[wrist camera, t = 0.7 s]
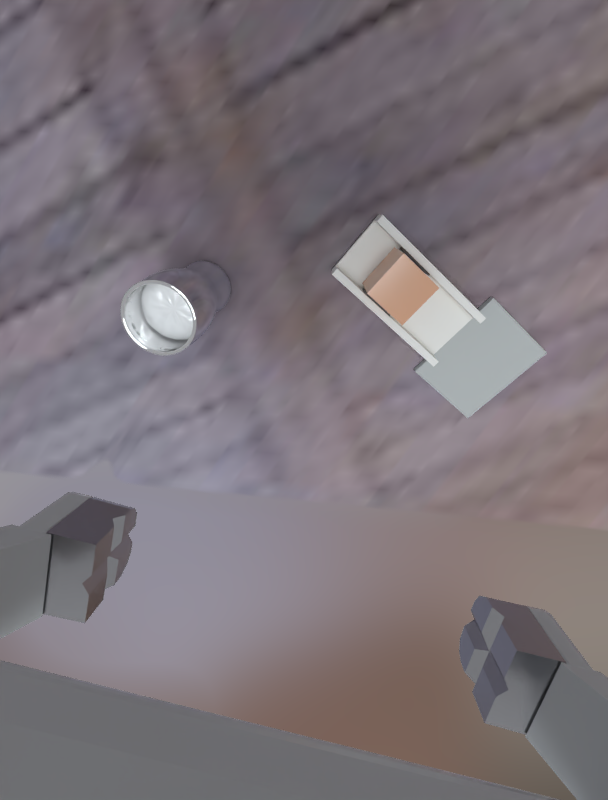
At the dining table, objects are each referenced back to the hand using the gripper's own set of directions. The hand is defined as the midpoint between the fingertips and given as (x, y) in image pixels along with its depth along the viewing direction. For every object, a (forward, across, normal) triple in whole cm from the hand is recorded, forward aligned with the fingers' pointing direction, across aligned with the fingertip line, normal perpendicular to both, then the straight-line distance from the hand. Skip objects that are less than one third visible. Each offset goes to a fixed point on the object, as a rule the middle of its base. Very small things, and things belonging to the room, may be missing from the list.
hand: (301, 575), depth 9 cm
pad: (+42, -19, -5) cm, 47 cm away
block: (+39, -6, -11) cm, 41 cm away
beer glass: (+40, +15, -5) cm, 44 cm away
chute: (+40, -8, -10) cm, 42 cm away
